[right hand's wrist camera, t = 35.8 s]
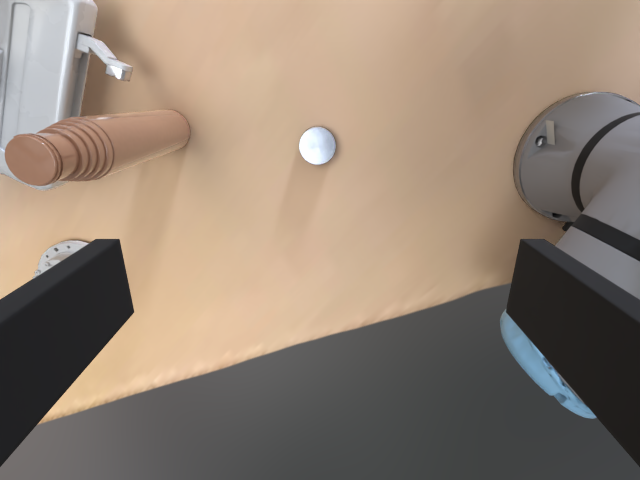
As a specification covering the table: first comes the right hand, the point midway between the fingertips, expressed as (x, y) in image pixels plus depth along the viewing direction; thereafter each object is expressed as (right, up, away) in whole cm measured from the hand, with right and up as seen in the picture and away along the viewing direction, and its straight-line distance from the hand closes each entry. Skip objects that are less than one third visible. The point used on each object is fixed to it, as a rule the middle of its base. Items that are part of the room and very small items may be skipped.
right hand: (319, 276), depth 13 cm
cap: (0, +12, +32) cm, 34 cm away
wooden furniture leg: (-18, +14, +33) cm, 40 cm away
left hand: (-21, +14, +26) cm, 36 cm away
